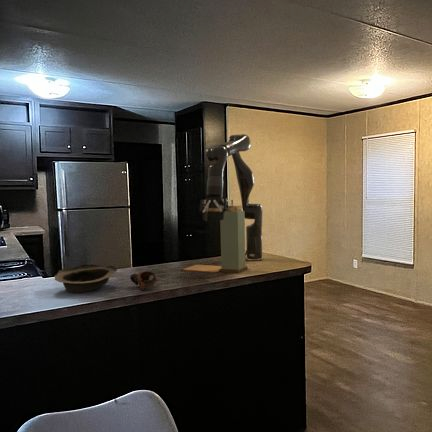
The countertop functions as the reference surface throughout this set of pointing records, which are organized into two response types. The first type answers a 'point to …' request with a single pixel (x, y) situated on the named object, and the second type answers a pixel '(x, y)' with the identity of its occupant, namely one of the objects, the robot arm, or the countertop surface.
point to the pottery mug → (143, 279)
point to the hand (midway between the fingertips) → (213, 220)
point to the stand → (233, 242)
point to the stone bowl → (84, 277)
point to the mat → (203, 268)
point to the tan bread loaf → (230, 208)
